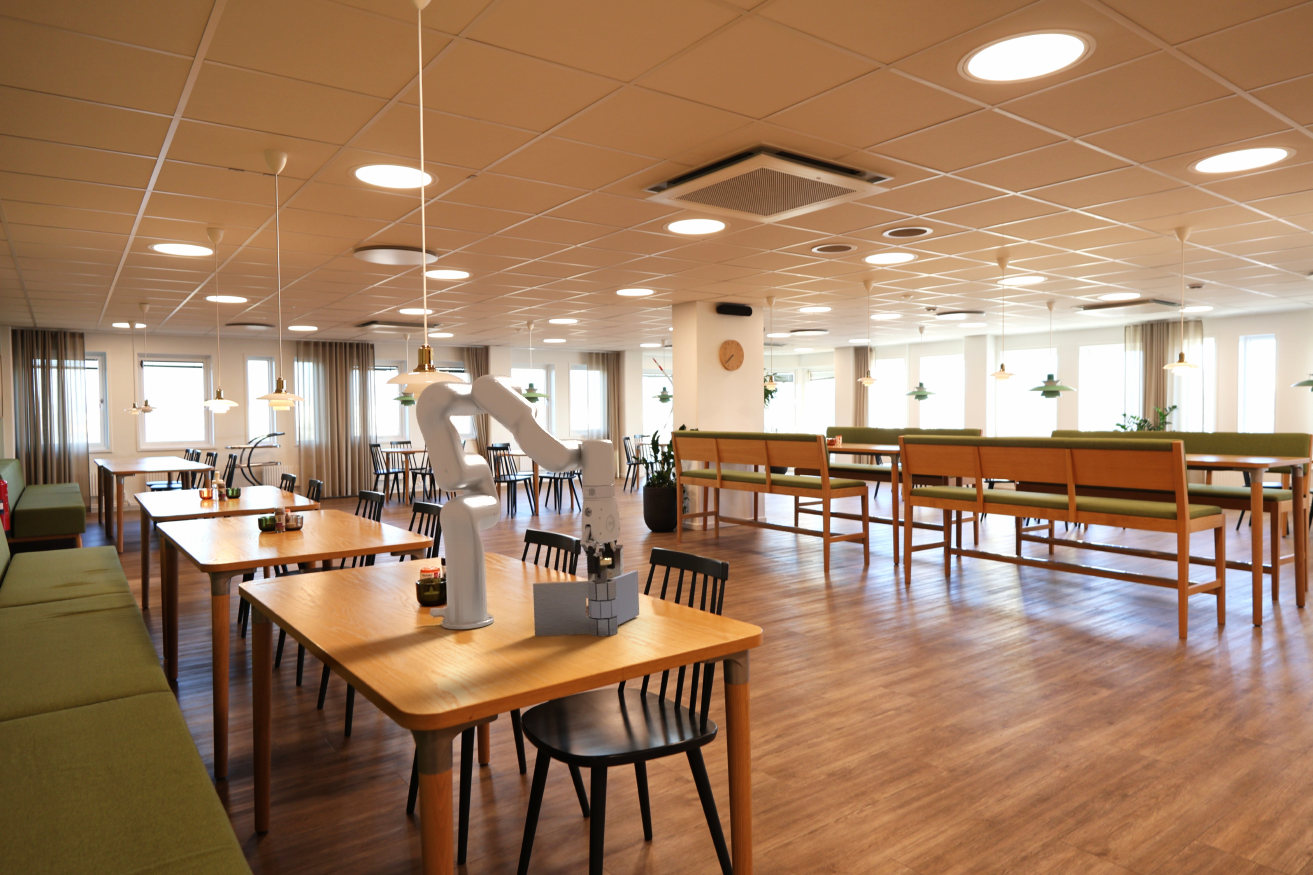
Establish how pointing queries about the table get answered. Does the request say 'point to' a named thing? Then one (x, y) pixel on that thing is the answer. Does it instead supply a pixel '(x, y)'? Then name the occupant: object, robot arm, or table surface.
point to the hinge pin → (602, 571)
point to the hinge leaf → (619, 600)
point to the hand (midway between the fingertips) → (601, 570)
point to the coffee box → (618, 563)
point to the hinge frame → (572, 608)
